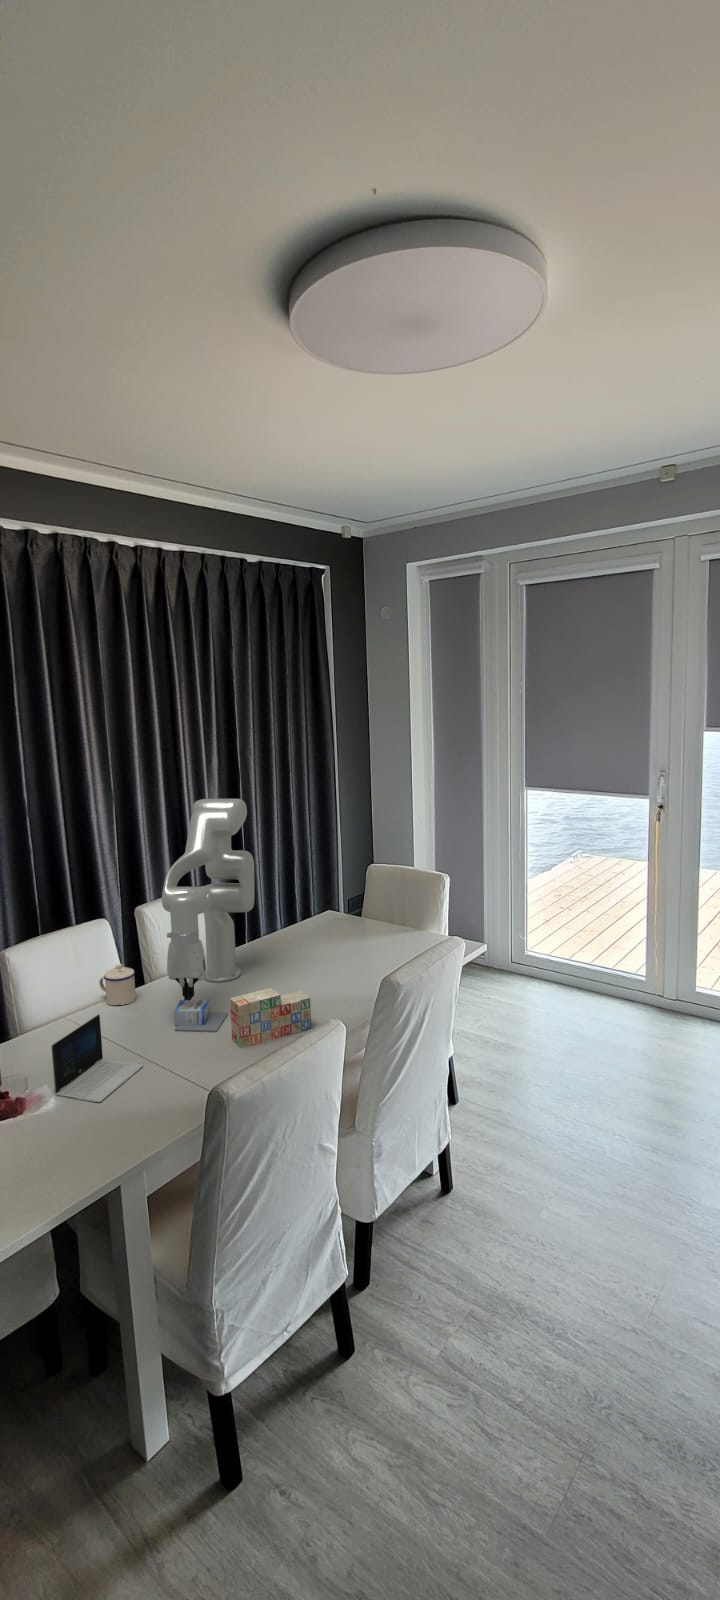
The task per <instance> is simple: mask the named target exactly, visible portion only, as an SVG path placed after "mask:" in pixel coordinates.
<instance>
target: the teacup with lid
mask: <svg viewBox="0 0 720 1600" xmlns="http://www.w3.org/2000/svg"><path fill="white" fill-rule="evenodd" d="M103 975H104V976H102V977H100V978H99V980H98V982H99V984H98V985H99V987H100V989H101V990H102V991H103V992H105V997H106V998H105V999H106V1000H105V1001H106V1003H108V1004H107V1005H109V1004H110V1005H109V1006H111V1005H123V1006H126V1005H125V1004H127V1005H129V1003H130V1004H131V1002H132V1003H133V1002H134V1001H136V999H135V998H137V997H136V983H135V982H136V980H135V975H136V972H135V970H134V968H131V967H125V966H123V964H122V963H118V964H116V965H115V967H113V968H112V969H109V970H107V971H106V972H105V973H104V974H103ZM103 981H104V982H103ZM104 983H105V984H104Z"/></svg>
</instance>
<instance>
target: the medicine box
mask: <svg viewBox="0 0 720 1600" xmlns="http://www.w3.org/2000/svg"><path fill="white" fill-rule="evenodd" d="M210 1012H211V1001H210V999H191V1000H190V1001H188V1000H186V1001H185V1000H184V999H180V1000H179V1002H178V1004H177V1005H176V1008H175V1009H174V1010H173V1016H174V1017H173V1018H174V1020H173V1021H174V1025H175V1026H178V1025H204V1024H205V1022H206V1020H207V1018H208V1016H209V1014H210Z"/></svg>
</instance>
